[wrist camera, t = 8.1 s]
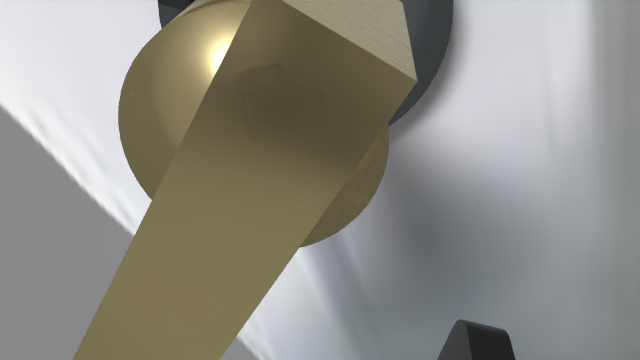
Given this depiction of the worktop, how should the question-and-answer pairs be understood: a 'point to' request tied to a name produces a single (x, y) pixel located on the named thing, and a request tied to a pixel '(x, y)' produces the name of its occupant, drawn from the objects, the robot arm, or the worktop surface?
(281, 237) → the door handle
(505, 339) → the robot arm
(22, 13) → the worktop surface
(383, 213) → the worktop surface
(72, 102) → the worktop surface
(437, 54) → the round metal flange
